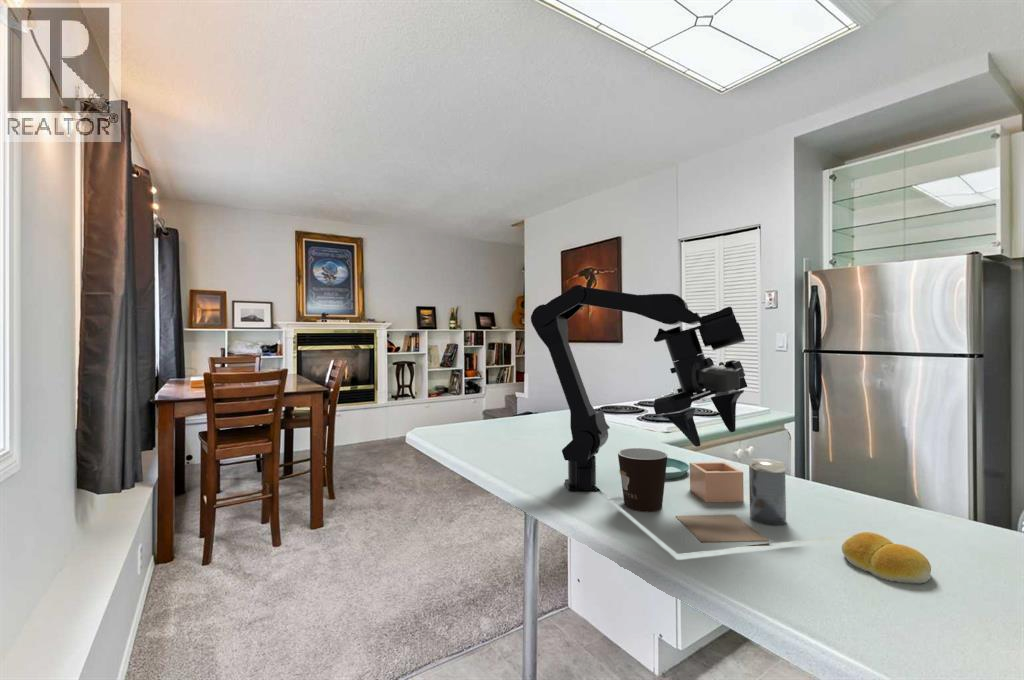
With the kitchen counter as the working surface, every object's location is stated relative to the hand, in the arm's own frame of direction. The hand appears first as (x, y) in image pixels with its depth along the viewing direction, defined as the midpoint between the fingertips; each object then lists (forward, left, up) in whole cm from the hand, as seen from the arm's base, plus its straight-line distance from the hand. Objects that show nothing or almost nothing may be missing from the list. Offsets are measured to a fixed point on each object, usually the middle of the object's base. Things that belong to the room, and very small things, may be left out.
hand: (715, 438), depth 84 cm
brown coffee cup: (0, -14, -12) cm, 19 cm away
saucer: (-20, -5, -12) cm, 24 cm away
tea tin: (+9, +4, -12) cm, 16 cm away
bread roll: (+24, +11, -12) cm, 29 cm away
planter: (-3, +1, -12) cm, 12 cm away
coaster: (+12, -5, -12) cm, 18 cm away
